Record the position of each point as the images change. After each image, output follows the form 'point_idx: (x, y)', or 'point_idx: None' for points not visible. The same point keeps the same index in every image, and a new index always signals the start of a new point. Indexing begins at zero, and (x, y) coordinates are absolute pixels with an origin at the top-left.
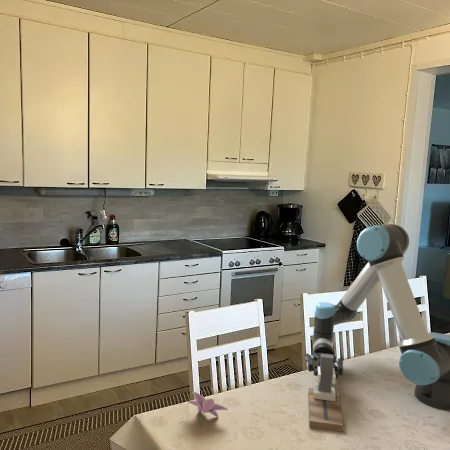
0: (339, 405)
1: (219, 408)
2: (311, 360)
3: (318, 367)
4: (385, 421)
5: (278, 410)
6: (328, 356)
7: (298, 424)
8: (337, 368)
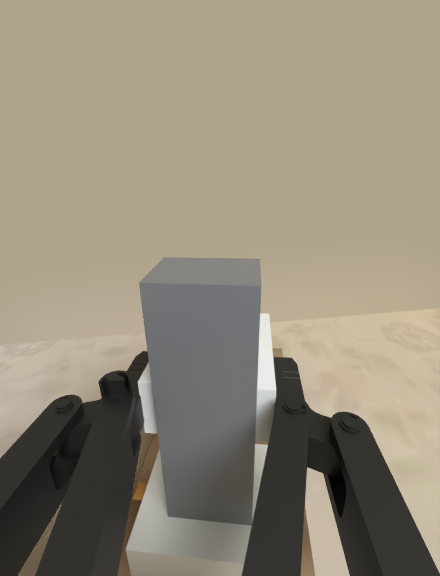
0: (156, 436)
1: None
2: (375, 537)
3: (269, 375)
4: (8, 417)
5: (408, 427)
6: (197, 265)
7: (312, 370)
8: (107, 390)
